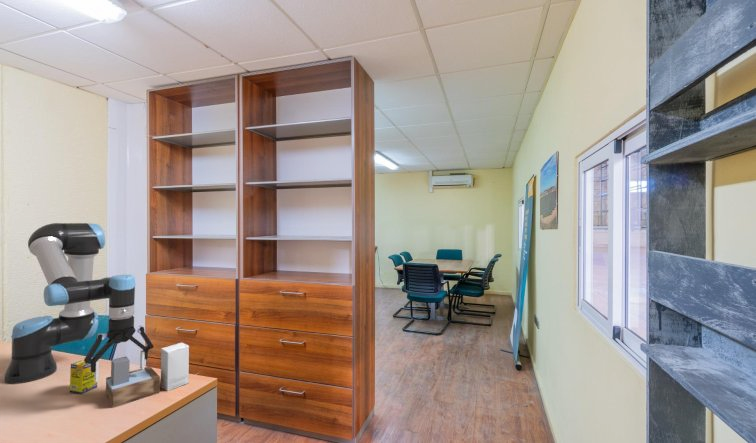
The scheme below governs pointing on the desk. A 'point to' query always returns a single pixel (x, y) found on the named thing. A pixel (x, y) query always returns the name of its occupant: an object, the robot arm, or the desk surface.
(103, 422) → the desk surface
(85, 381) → the supplement box
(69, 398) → the desk surface
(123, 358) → the lid
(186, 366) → the skincare box
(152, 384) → the box
